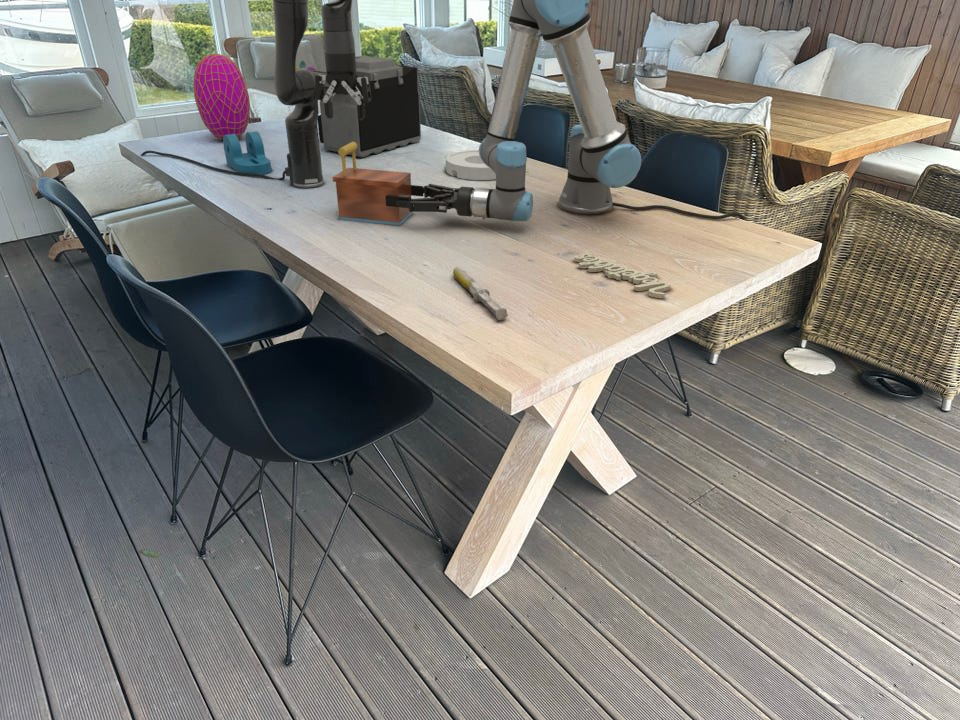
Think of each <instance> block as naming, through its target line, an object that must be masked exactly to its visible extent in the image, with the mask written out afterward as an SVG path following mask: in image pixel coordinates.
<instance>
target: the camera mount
mask: <svg viewBox="0 0 960 720" xmlns="http://www.w3.org/2000/svg"><path fill="white" fill-rule="evenodd" d="M222 140H223V141H222V143H223V149H224V150H223V151H224V156H225V161H226V165H227V166H228V167H230V168H231V169H232V170H233V171H235V172H242V173H250V174H261V175H265V174H268V173H271V172H272V164H271V159H270V158H268V157H267V156H266V153H265V145H264V141H263V139H262V136H261V134H260V132H258V131H247V132H246V133H245V146H246V152H243V151H242V150H243V149H242V146H241V142H240V140H239V138H237V136H236V135H235V134H230V135H224V137H223V139H222Z"/></svg>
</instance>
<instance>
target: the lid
mask: <svg viewBox="0 0 960 720" xmlns="http://www.w3.org/2000/svg"><path fill="white" fill-rule="evenodd" d="M356 149H357V144H356V143H355V142H351V143H349V144H347V145H345V146H344V147H342V148H340V149H339V150H338V152H337V153H338V155H339V156H340V157H341V165H342V171H340V172H339V173H337V174H335V175H334V176H332V182H334V183H336V182H341V183H352V184H364V185H375V186H386V187H397V188H398V187H399V186H400V185H402V184H403V183H404V182H406V181H407V180H408V179H409V178H411V175H412V174H411V172H404V171H394V170H383V169H382V170H381V169H370V168H368V169H367V168H360V167H359V168H358V167H357V156H355V150H356ZM350 152H352V155H351V158H352V160H351V161H352V167H347V165H346V156H347V155H348V154H349V153H350Z"/></svg>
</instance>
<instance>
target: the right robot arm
mask: <svg viewBox="0 0 960 720" xmlns="http://www.w3.org/2000/svg"><path fill="white" fill-rule="evenodd" d="M589 4H590V0H513V1H512V6H511V10H510V15H509V19H508V25H509V28H510V32H509V38H508V42H507V46H506V50H505V55H504V59H503V64H502V67H501V72H500V76H499V80H498V84H497V85H498V86H497V90H496V93H495V98H494V101H493V102H494V103H493V107H492V112H491V116H490V120H489V125H488V129H487V132H486V136H485V137H484V139H482V141H481V142H480V144H479V147H478V150H479V155H480V157H481V159H482V161H483V162H484V163H485V165H487V166H488V167H490V168H491V169H492V170H493V171H494V172H495V173H496V179H495V189H494V188H487V187H475V188H474V187H471V186H463V185H462V186H460V187H450V186H444V185H439V184H433V183H428V185H416V184H411V196H409V197H401V196H390V195H386V206H391V207H401V208H409V212H412V213H420V212H421V213H443V214H446V213H448V210H452V209H454V210H455V211H456V214H457V215H458V216H460V217H468V218H469V217H472V216H473V217H474V218H481V219H482V220H486V219H493V220H501V221H511V222H528V221H529V220H530V219H531V217H532V214H533V209H534V195H533V193H532V192H530V191H528V190H527V191H526V176H527V175H526V174H527V172H526V171H527V162H528V157H527V146H526V144H524V143H523V142H520V141H516V136H517V132H518V128H519V124H520V120H521V115H522V113H523V109H524V104H525V100H526V96H527V92H528V89H529V84H530V80H531V77H532V73H533V69H534V65H535V61H536V57H537V53H538V49H539V45H540V42H541V38H542V40H543V41H544V42H545V43H548V44H551V46H552V48H553V52H554V54H555V57H556V59H557V62H558V65H559V68H560V70H561V73H562V76H563V79H564V82H565V85H566V88H567V91H568V93H569V95H570V98H571V102H572V104H573V108H574V110H575V113H576V116H577V119H578V121H579V124H575V125H573V126H572V127H571V130H570V136H569V147H568V149H569V150H568V164H567V177H566V181H565V184H564V186H563V189H562V191H561V194H560V196H559V200H558V206H559V207H558V208H560V209H561V210H563V211H565V212H568V213H571V214H576V215H577V214H578V215H585V216H586V215H587V216H590V215H593V216H595V215H602V214H606V213H609V212H610V211H611V210H612V209H613V207H616V208H617V207H618V208H621V209H622V208H623V209H628V210H632V211H646V210H652V209H653V210H655V209H657V210H658V209H660V210H667V211H672V212H675V213H678V214H681V215H687V216H690V217H696V218H700V219H708V220H709V219H710V220H723V219H727V218H731V217H738V218H739V219H741V220H746V217H745V216H744V214H742V213H740V212H735V211H734V212H733V211H732V212H729V213H725V214H722V215H710V214H704V213H699V212H698V213H697V212H692V211H689V210H688V211H687V210H683V209H680V208H676V207H672V206H668V205H663V204H662V205H661V204H653V205H643V206H633V205H628V204H624V203H618V202H614V201H613V196H612V191H611V189H619V188H624V187H626V186H628V185H629V184H631V183H632V181H634V180H635V179H636V177H637V175H638V173H639V171H640V170H641V166H642V155H641V153H640V150H639V149H638V148H637V147H636V145H635V144H633V143H631V140H630V138H629V134H628V131H627V128H626V126H625V124H624V123H621V122H619V121H617V117H616V115H615V112H614V109H613V105H612V101H611V99H610V95H609V92H608V89H607V87H606V83H605V80H604V77H603V75H602V71H601V68H600V65H599V62H598V59H597V56H596V53H595V49H594V46H593V43H592V40H591V37H590V33H589V31H588V26H589V24H590V22H591V19H592V18H591V14H590V12H589V8H588V7H589ZM411 197H417V198H412V199H411ZM418 197H419V198H418Z"/></svg>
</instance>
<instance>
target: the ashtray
mask: <svg viewBox="0 0 960 720" xmlns="http://www.w3.org/2000/svg"><path fill="white" fill-rule="evenodd" d="M445 172H446V174H448V175H449V176H453V177H455V176H456V177H457V179H461V180H462V179H463V180H470V181H492V180H494V181H495V180H496V173H495V172H494V171H493V170H492V169H491V168H490V167H488V166H487V165H485V163H484V162H483V161H482V159H481V157H480V155H479V149H470V150H469V149H468V150H461V151H456V152H452V153H450V154H448V155H447V156H445Z"/></svg>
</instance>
